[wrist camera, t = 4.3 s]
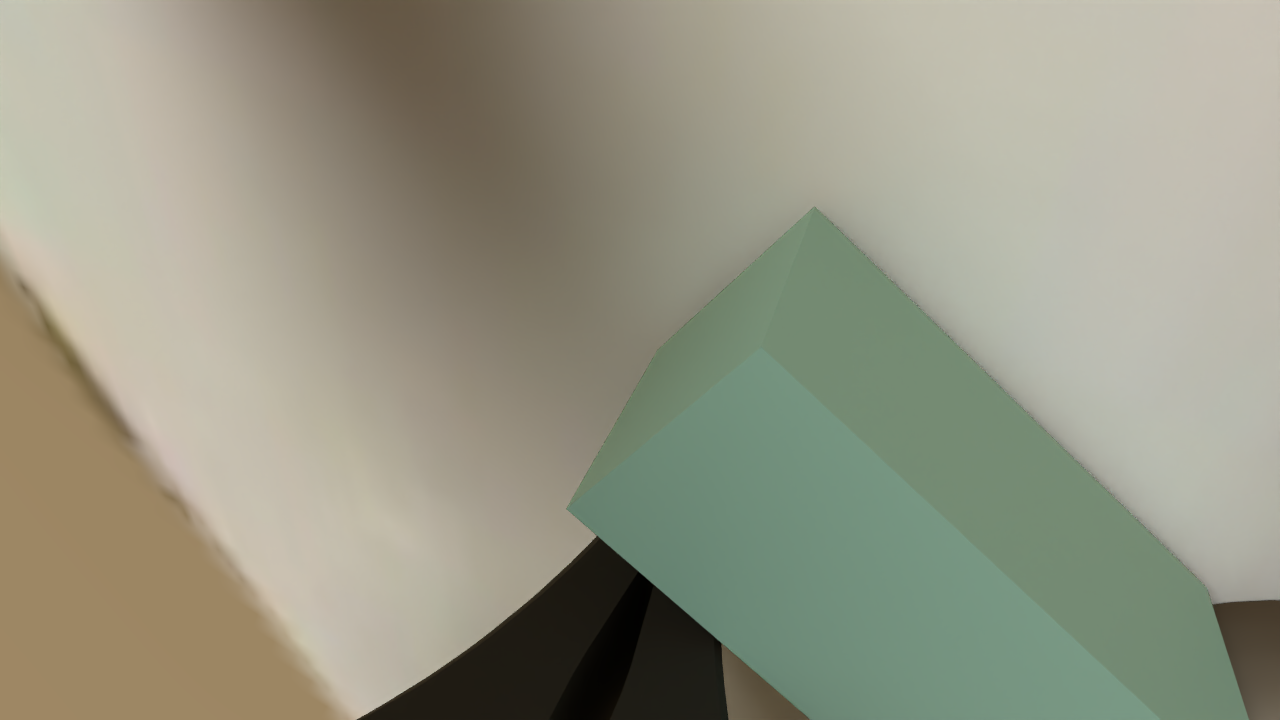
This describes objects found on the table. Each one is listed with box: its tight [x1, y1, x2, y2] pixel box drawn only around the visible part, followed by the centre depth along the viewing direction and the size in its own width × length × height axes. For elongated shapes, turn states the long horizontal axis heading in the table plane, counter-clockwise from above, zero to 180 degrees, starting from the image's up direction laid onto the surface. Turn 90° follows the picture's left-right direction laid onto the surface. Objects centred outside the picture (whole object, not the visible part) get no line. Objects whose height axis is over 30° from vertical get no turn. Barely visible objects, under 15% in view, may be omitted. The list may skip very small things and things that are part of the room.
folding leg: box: [566, 207, 1249, 720], centre depth 11 cm, size 7×3×4 cm, turn 50°
